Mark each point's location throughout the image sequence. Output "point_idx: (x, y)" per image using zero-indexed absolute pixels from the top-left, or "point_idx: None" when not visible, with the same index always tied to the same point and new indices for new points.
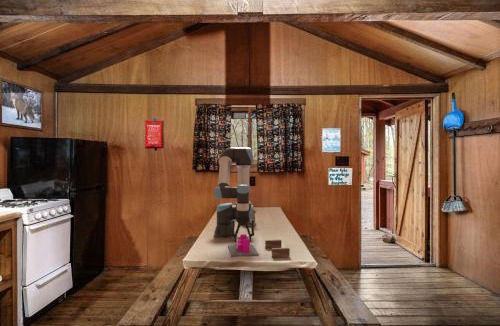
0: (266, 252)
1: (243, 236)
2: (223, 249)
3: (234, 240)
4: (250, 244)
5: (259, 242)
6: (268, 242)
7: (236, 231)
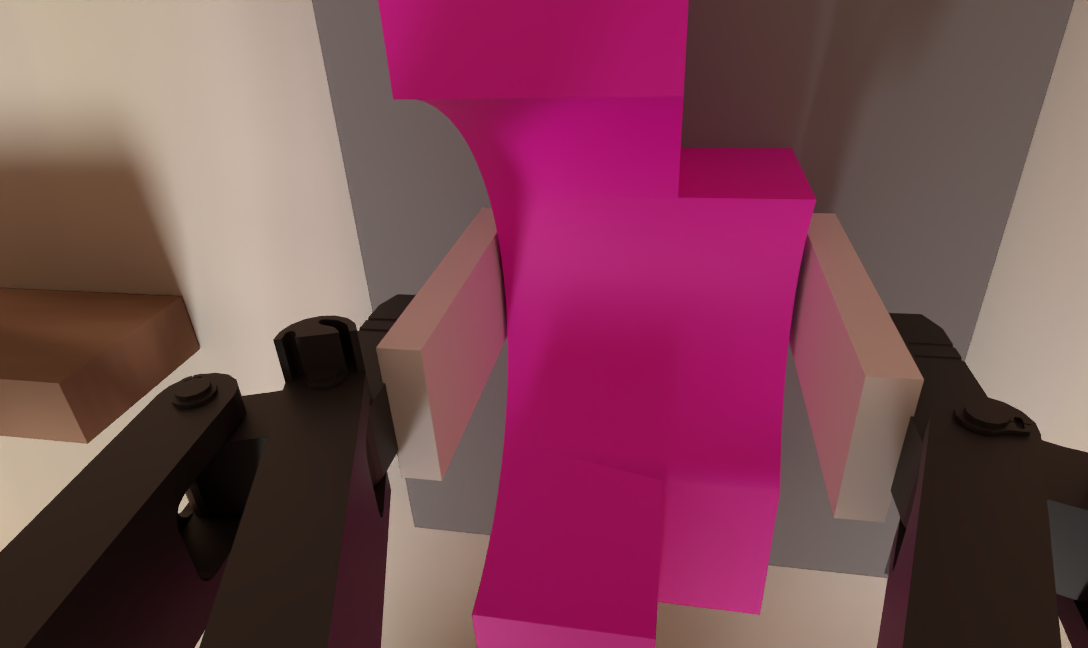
0: (131, 35)
1: (573, 595)
2: (1076, 404)
3: (958, 353)
4: (453, 529)
5: None
6: (39, 358)
7: (1047, 624)
